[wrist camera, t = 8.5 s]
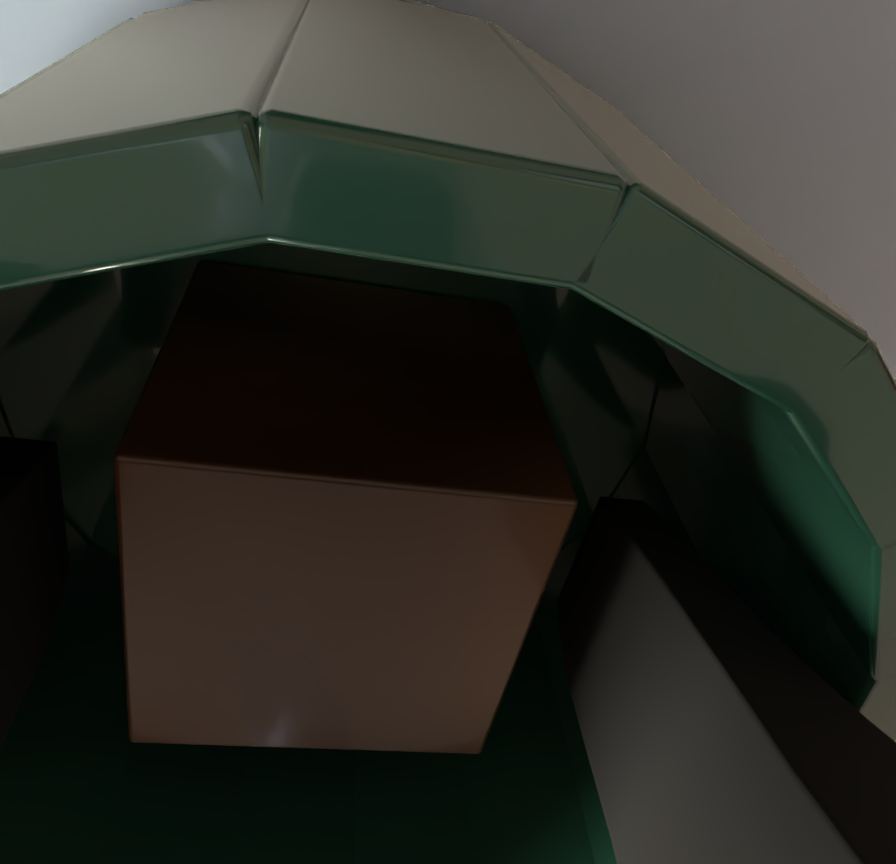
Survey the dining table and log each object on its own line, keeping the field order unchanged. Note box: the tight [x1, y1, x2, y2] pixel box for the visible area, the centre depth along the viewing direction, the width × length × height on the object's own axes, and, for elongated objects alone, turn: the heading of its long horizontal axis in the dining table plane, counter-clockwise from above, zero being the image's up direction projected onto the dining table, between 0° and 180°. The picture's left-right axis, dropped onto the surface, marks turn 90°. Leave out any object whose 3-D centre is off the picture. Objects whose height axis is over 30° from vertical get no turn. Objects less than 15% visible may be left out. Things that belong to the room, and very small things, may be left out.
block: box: [113, 261, 578, 754], centre depth 10 cm, size 4×4×4 cm
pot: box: [0, 0, 896, 864], centre depth 10 cm, size 11×12×6 cm
